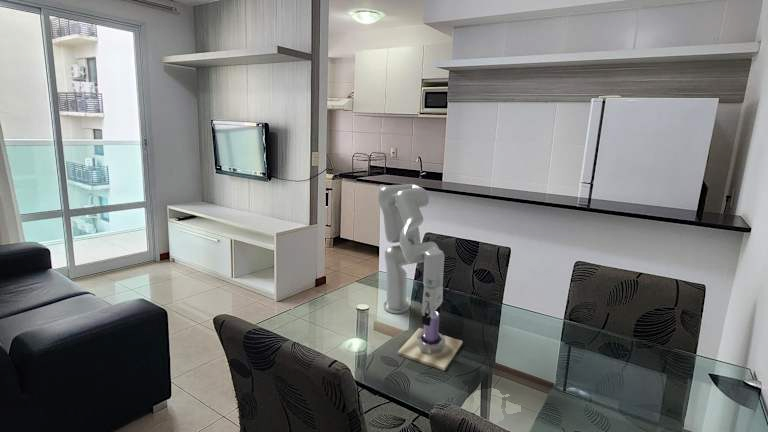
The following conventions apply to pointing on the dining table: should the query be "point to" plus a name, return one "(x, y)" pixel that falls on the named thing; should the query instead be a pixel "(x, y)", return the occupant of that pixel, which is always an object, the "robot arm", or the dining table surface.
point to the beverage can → (432, 329)
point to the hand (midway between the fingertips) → (431, 318)
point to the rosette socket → (431, 350)
